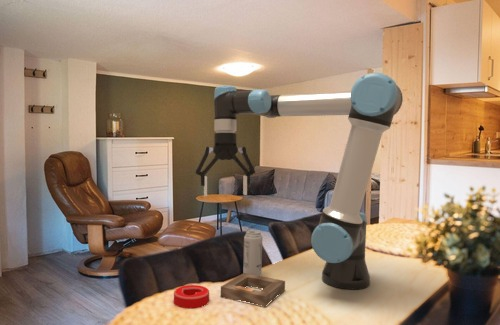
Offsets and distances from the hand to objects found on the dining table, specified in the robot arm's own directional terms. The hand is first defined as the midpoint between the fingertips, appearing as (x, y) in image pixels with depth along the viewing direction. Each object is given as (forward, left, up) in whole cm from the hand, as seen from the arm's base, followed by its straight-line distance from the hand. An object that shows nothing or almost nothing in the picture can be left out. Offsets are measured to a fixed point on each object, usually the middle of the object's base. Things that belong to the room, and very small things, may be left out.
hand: (225, 195), depth 129 cm
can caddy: (-18, +12, -26) cm, 34 cm away
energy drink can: (-11, -1, -27) cm, 29 cm away
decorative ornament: (-5, +26, -27) cm, 38 cm away
